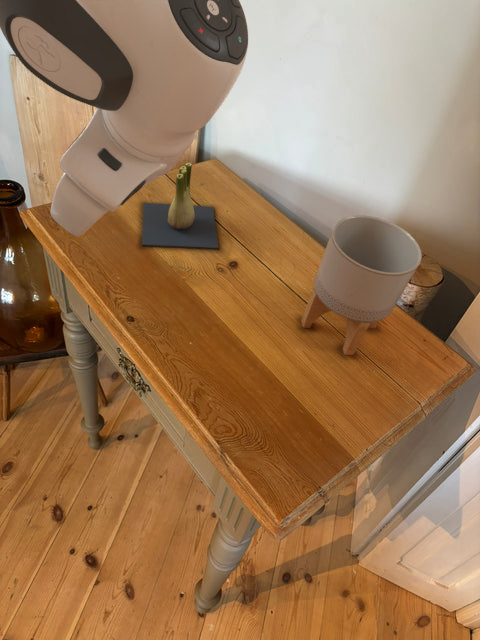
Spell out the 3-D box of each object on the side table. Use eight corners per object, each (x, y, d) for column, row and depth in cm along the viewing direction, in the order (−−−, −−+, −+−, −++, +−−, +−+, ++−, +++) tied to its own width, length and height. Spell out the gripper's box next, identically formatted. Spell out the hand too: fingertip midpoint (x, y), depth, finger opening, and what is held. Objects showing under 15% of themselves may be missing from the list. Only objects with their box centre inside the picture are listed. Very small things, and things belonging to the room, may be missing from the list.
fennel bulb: (183, 213, 92) (187, 158, 83) (200, 225, 90) (206, 170, 81) (161, 224, 89) (162, 167, 80) (178, 237, 87) (182, 180, 78)
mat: (142, 246, 84) (142, 244, 84) (143, 204, 93) (143, 202, 92) (218, 249, 87) (218, 247, 86) (212, 208, 95) (213, 206, 95)
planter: (294, 296, 81) (322, 212, 68) (362, 298, 84) (402, 217, 71) (310, 355, 73) (346, 272, 60) (385, 355, 75) (436, 275, 62)
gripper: (177, 50, 49) (138, 122, 61) (47, 169, 40) (32, 225, 52) (220, 96, 51) (175, 156, 63) (106, 219, 42) (78, 262, 54)
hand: (109, 188), depth 57 cm, fingers open, 8 cm apart
